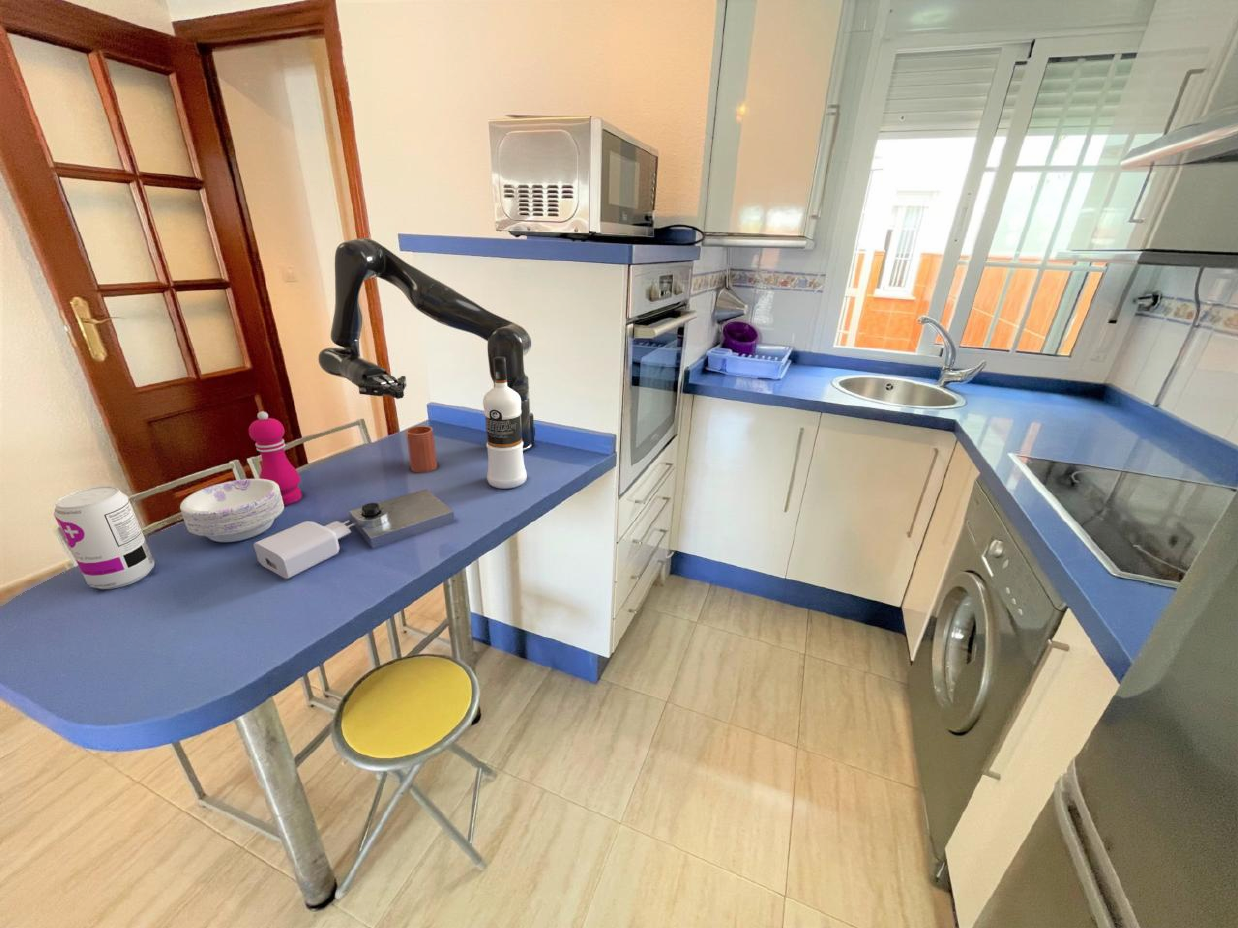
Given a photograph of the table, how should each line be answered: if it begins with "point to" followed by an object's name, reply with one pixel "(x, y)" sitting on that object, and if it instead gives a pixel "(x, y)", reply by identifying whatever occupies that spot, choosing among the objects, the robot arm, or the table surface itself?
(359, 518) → the scale
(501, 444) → the vodka
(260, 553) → the charger
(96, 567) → the supplement can
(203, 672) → the table surface
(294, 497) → the pepper mill
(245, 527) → the paper bowls
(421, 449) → the cup
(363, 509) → the button
